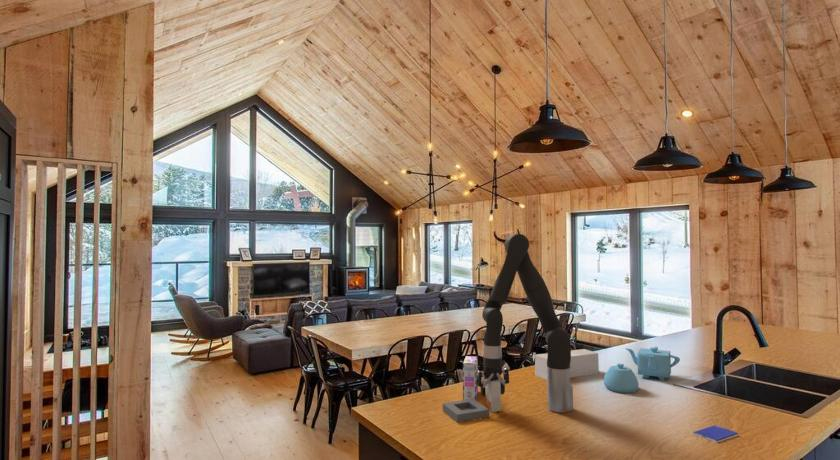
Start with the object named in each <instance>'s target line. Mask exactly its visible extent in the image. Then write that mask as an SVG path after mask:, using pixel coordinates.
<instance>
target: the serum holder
mask: <svg viewBox="0 0 840 460" xmlns="http://www.w3.org/2000/svg"><path fill="white" fill-rule="evenodd" d="M442 411H443V412H444V413H445V414H446V415H447V414H448V416H449V418H451V419H452V420H453V421H454V422H456V423H464V422H469V421H468V420H470V421H475V420H474V419H476V420H481V419H480V418H482V419H487V418H486V417H489V418H490V410H489V409H488V408H487V406H484V405H483V404H482V403H480V402H478V401H477V399H476V400H474V399H468V400H456V401H450V402H449V401H448V402H442ZM463 421H464V422H463Z"/></svg>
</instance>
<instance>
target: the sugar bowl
mask: <svg viewBox="0 0 840 460" xmlns="http://www.w3.org/2000/svg"><path fill="white" fill-rule="evenodd" d="M603 385H604V386H605V387H606V389H608V390H609V391H611V392H615V393H620V394H630V393H635V392H636V391H637V390H638V389H639V379H638V378H637V376H636V374H635V372H634V371H633V369H632V368H631V367H629V366H625V365H624V363H620V362H619V363H616V365H611V366H610V367H609V368H608V369H607V371H606V373H605V374H604V377H603Z"/></svg>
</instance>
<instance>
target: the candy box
mask: <svg viewBox="0 0 840 460" xmlns="http://www.w3.org/2000/svg"><path fill="white" fill-rule="evenodd" d="M477 371H479V366H478V356H472V355H471V356H470V355H469V356H468V355H465V358H464V360H463V362H462V399H463V400H468V399H474V400H476V401H477V398H478V395H479V386H478V385H476V374H477Z"/></svg>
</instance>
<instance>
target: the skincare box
mask: <svg viewBox="0 0 840 460" xmlns="http://www.w3.org/2000/svg"><path fill="white" fill-rule="evenodd" d="M486 380H487V379H486ZM485 388H486V408H487V409H489V412H490V413H496V412H497V411H500V412H502V398H501V397H502V396H501V395H502V394H501V386H500V382H499V381H498V380H496V381H489V383H488V384H487V385H486V386H485Z"/></svg>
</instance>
